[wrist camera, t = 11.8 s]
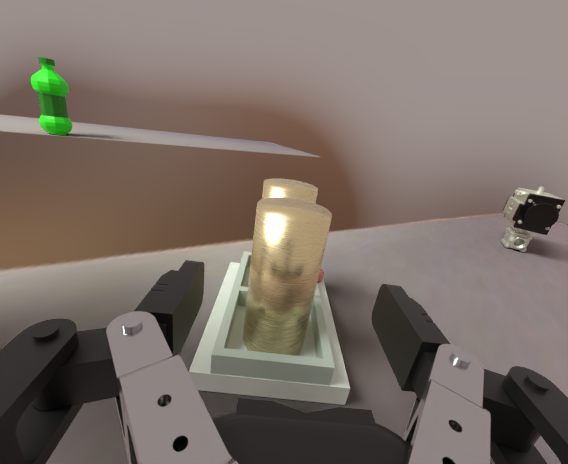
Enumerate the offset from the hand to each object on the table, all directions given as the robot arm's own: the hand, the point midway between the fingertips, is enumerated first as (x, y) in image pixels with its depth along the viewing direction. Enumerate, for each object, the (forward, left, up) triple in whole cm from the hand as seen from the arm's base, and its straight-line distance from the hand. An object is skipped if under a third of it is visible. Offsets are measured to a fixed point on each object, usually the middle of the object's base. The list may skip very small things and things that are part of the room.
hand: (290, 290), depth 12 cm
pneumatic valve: (+45, +38, -9) cm, 60 cm away
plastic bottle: (-86, +101, -9) cm, 133 cm away
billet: (0, +5, -8) cm, 9 cm away
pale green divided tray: (0, +9, -9) cm, 13 cm away
